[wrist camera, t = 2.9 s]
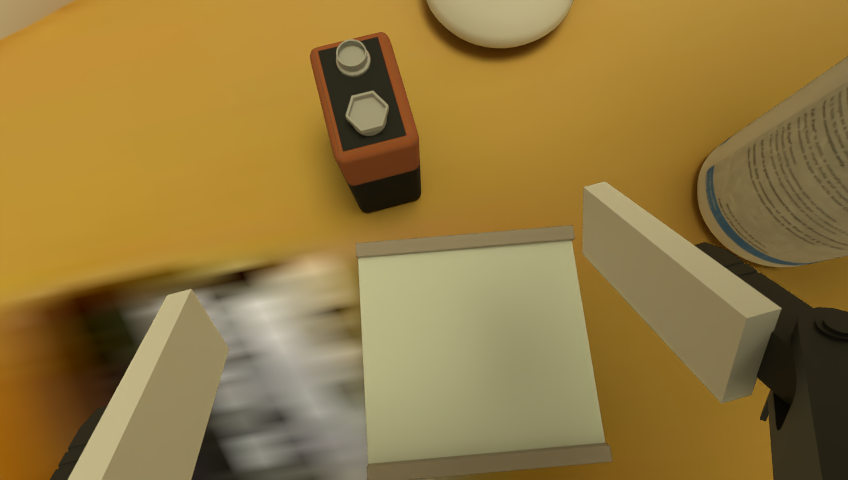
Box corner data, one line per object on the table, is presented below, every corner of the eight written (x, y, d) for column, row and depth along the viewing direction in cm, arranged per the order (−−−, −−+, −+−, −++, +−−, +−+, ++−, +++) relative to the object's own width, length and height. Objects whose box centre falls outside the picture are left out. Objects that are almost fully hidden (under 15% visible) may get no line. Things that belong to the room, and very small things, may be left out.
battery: (362, 216, 30) (330, 155, 20) (340, 129, 31) (300, 33, 21) (423, 200, 30) (421, 132, 20) (398, 115, 31) (385, 13, 22)
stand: (555, 238, 29) (572, 225, 26) (587, 445, 26) (612, 461, 23) (364, 254, 29) (355, 243, 25) (375, 464, 26) (367, 483, 22)
